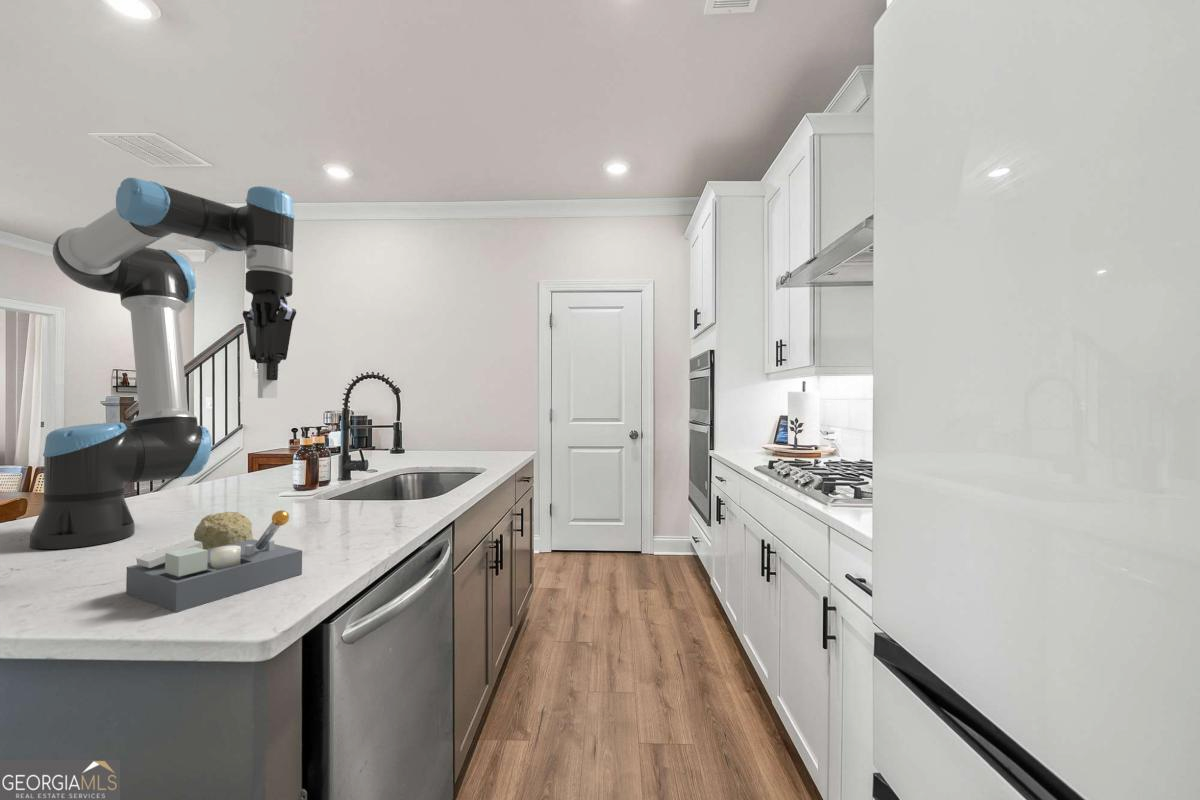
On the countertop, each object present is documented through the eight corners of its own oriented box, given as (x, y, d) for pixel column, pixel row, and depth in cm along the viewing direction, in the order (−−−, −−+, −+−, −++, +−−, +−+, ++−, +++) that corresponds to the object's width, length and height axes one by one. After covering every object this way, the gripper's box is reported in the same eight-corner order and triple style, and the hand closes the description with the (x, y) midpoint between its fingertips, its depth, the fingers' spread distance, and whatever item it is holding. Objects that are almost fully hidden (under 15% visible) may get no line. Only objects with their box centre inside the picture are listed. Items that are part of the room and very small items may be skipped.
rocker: (137, 564, 78) (135, 558, 78) (190, 544, 84) (189, 539, 84) (149, 568, 76) (148, 561, 76) (203, 548, 82) (201, 542, 82)
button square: (165, 572, 75) (165, 552, 75) (193, 565, 78) (194, 546, 78) (178, 576, 73) (178, 556, 73) (207, 569, 77) (207, 550, 77)
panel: (126, 593, 78) (126, 554, 78) (252, 561, 94) (252, 529, 94) (176, 612, 72) (176, 569, 72) (301, 574, 88) (302, 539, 88)
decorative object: (251, 564, 103) (236, 519, 106) (268, 544, 98) (251, 497, 101) (195, 581, 96) (180, 532, 98) (209, 561, 90) (193, 509, 93)
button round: (204, 569, 80) (204, 550, 80) (231, 563, 83) (231, 544, 83) (218, 574, 78) (219, 553, 78) (245, 567, 81) (246, 547, 81)
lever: (249, 541, 86) (273, 508, 83) (264, 538, 88) (288, 506, 85) (255, 553, 85) (279, 520, 82) (270, 550, 87) (294, 517, 84)
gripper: (228, 272, 99) (226, 397, 99) (270, 265, 93) (268, 398, 93) (268, 280, 105) (266, 397, 105) (310, 274, 99) (308, 398, 99)
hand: (267, 397), depth 99 cm, fingers closed
